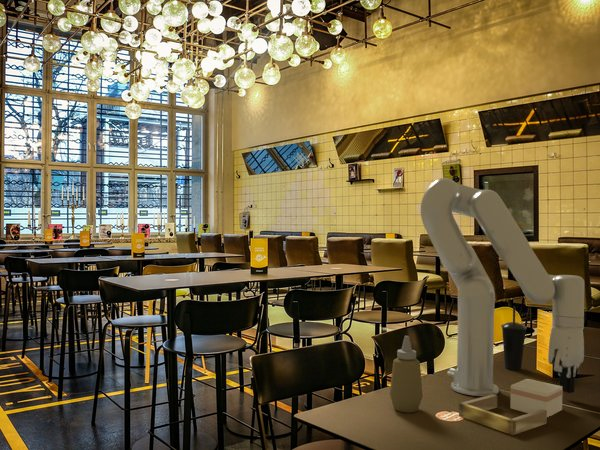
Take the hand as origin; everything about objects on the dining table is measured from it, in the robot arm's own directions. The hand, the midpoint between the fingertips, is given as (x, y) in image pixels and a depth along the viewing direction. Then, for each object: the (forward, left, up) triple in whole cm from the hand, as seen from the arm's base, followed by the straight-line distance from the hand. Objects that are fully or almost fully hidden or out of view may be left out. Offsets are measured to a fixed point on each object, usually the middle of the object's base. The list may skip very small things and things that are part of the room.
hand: (566, 391), depth 146 cm
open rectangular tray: (0, -28, -2) cm, 28 cm away
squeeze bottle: (-18, -42, -2) cm, 46 cm away
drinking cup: (-27, +16, -2) cm, 31 cm away
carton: (0, -14, -2) cm, 14 cm away
